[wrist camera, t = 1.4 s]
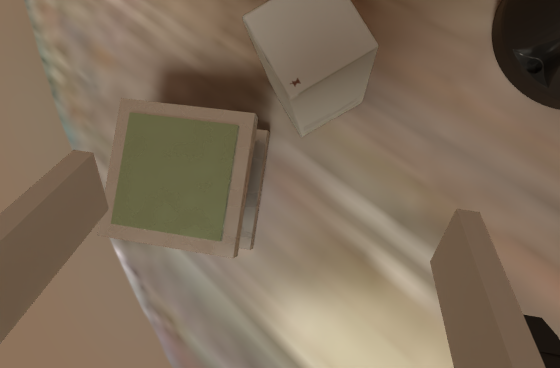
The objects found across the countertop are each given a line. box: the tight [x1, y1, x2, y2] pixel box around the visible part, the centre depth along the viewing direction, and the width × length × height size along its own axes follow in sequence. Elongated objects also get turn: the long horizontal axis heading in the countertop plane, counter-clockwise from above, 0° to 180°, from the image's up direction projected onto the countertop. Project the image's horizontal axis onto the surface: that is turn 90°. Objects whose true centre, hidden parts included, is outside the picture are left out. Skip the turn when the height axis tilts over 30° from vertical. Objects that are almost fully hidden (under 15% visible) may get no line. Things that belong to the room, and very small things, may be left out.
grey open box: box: [98, 98, 270, 258], centre depth 34 cm, size 12×12×8 cm
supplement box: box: [242, 0, 379, 137], centre depth 31 cm, size 7×7×13 cm
